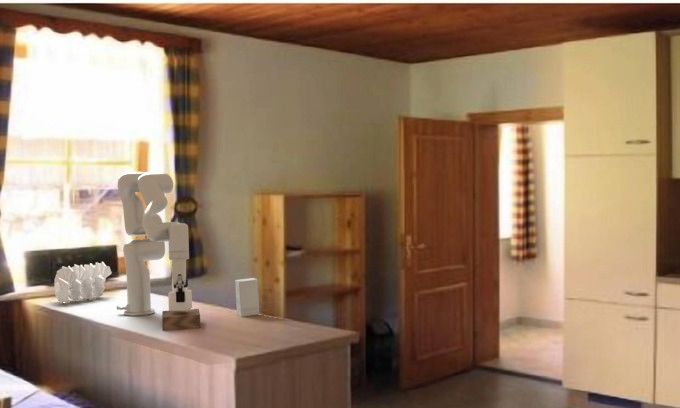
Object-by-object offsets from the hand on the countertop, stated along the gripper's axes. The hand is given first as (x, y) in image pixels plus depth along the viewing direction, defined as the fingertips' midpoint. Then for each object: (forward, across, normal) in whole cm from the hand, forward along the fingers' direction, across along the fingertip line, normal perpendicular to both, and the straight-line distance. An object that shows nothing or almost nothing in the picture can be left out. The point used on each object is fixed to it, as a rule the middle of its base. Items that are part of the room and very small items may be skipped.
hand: (180, 300), depth 282 cm
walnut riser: (+10, 0, 0) cm, 10 cm away
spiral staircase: (+11, -81, -46) cm, 94 cm away
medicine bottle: (+4, 0, 0) cm, 4 cm away
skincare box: (+10, -14, +27) cm, 32 cm away
